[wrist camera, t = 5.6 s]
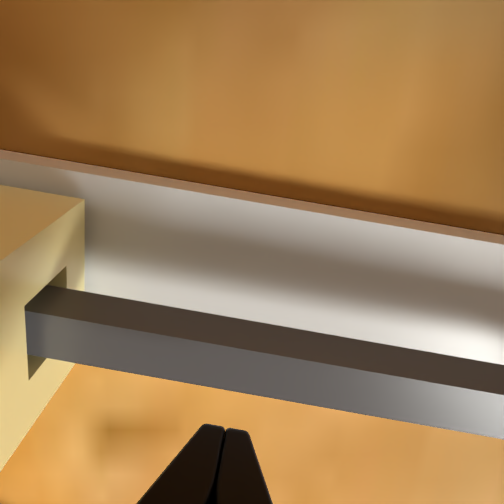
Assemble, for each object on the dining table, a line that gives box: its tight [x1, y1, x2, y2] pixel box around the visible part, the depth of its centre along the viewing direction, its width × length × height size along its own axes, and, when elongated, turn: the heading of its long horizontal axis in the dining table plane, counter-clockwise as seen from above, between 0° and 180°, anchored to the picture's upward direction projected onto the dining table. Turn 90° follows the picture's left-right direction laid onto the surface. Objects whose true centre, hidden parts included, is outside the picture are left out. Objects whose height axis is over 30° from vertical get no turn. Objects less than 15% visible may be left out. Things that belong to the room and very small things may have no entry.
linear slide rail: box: [0, 149, 504, 439], centre depth 12 cm, size 22×6×5 cm, turn 82°
